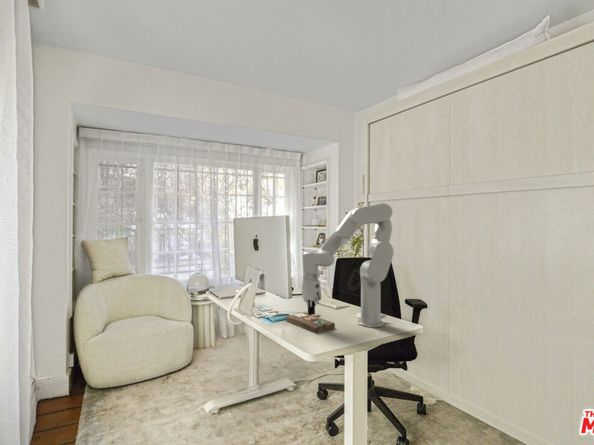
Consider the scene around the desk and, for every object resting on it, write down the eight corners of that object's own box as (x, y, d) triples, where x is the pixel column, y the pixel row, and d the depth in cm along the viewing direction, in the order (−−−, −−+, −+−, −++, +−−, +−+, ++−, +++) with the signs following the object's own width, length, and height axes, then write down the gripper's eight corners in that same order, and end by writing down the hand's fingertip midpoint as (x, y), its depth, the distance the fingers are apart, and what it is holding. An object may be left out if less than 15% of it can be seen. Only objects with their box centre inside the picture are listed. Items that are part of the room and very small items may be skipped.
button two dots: (310, 322, 165) (310, 316, 165) (316, 324, 161) (316, 318, 161) (302, 324, 162) (302, 317, 162) (308, 326, 158) (309, 320, 158)
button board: (305, 317, 175) (305, 312, 175) (334, 328, 156) (334, 323, 156) (286, 321, 168) (286, 316, 168) (315, 333, 149) (315, 327, 149)
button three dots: (320, 326, 159) (320, 319, 159) (327, 328, 155) (327, 322, 155) (312, 328, 156) (312, 321, 156) (319, 330, 152) (319, 323, 152)
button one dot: (301, 319, 171) (301, 313, 171) (307, 321, 167) (307, 315, 167) (293, 320, 168) (293, 314, 168) (299, 322, 164) (299, 316, 164)
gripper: (326, 277, 158) (327, 316, 158) (307, 274, 170) (308, 310, 170) (314, 279, 154) (315, 318, 154) (295, 276, 166) (296, 312, 166)
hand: (311, 314), depth 162 cm, fingers closed
